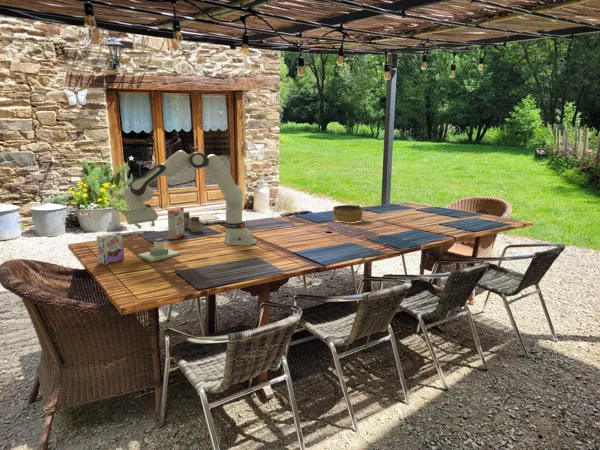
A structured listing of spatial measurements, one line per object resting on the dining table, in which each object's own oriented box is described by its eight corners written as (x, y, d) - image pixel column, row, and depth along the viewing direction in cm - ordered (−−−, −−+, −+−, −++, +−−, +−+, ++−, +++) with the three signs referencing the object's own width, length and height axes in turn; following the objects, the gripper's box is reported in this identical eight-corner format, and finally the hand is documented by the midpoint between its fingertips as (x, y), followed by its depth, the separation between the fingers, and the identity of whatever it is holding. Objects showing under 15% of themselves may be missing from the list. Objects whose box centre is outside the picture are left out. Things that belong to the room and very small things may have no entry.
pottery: (190, 225, 372) (189, 211, 369) (205, 231, 353) (205, 216, 351) (177, 227, 365) (176, 212, 362) (192, 233, 346) (191, 218, 344)
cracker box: (176, 239, 328) (175, 210, 323) (168, 239, 329) (166, 210, 324) (185, 235, 341) (183, 207, 337) (177, 234, 343) (176, 206, 338)
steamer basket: (331, 222, 389) (331, 209, 387) (334, 217, 413) (334, 204, 411) (361, 224, 385) (362, 211, 383) (362, 218, 409) (363, 206, 407)
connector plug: (160, 252, 292) (159, 238, 290) (164, 253, 290) (163, 239, 288) (154, 253, 289) (153, 239, 287) (158, 254, 287) (157, 240, 285)
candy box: (104, 265, 270) (102, 237, 267) (98, 263, 273) (95, 236, 270) (124, 259, 282) (122, 232, 278) (118, 257, 285) (116, 231, 281)
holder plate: (166, 250, 302) (166, 243, 301) (180, 254, 292) (179, 247, 291) (138, 256, 287) (137, 249, 286) (151, 261, 278) (151, 254, 277)
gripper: (124, 208, 289) (133, 226, 285) (153, 204, 304) (162, 221, 300) (121, 214, 293) (130, 232, 288) (150, 210, 308) (159, 227, 303)
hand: (147, 226), depth 294 cm, fingers open, 8 cm apart
